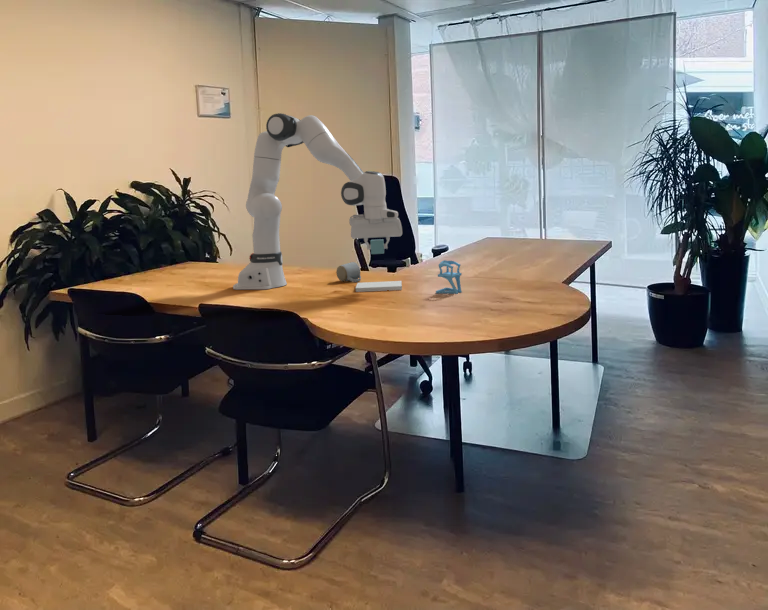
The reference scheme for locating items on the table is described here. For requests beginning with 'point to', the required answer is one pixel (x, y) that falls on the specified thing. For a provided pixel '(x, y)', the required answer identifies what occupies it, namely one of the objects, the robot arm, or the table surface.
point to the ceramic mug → (349, 272)
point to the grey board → (379, 286)
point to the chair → (450, 277)
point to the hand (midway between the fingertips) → (377, 248)
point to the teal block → (377, 246)
